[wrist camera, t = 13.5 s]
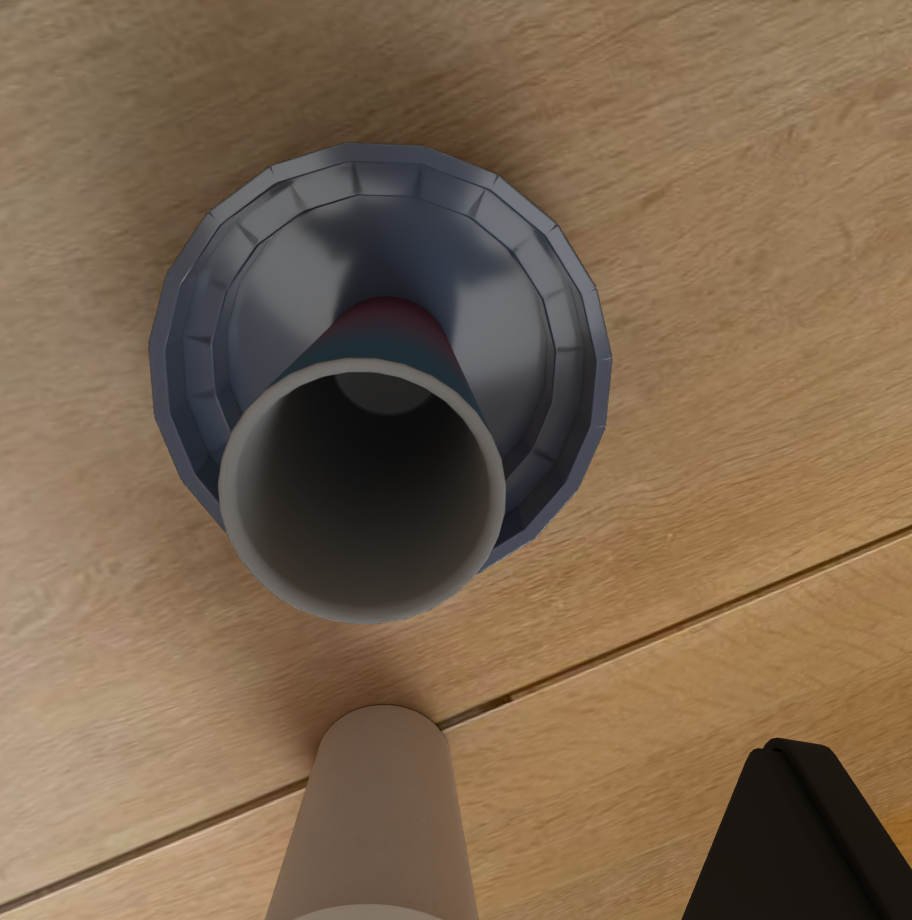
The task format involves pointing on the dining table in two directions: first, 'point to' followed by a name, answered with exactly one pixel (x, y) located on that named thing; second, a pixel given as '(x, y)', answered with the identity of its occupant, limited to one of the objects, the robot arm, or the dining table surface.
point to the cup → (365, 472)
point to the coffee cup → (378, 827)
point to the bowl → (396, 275)
